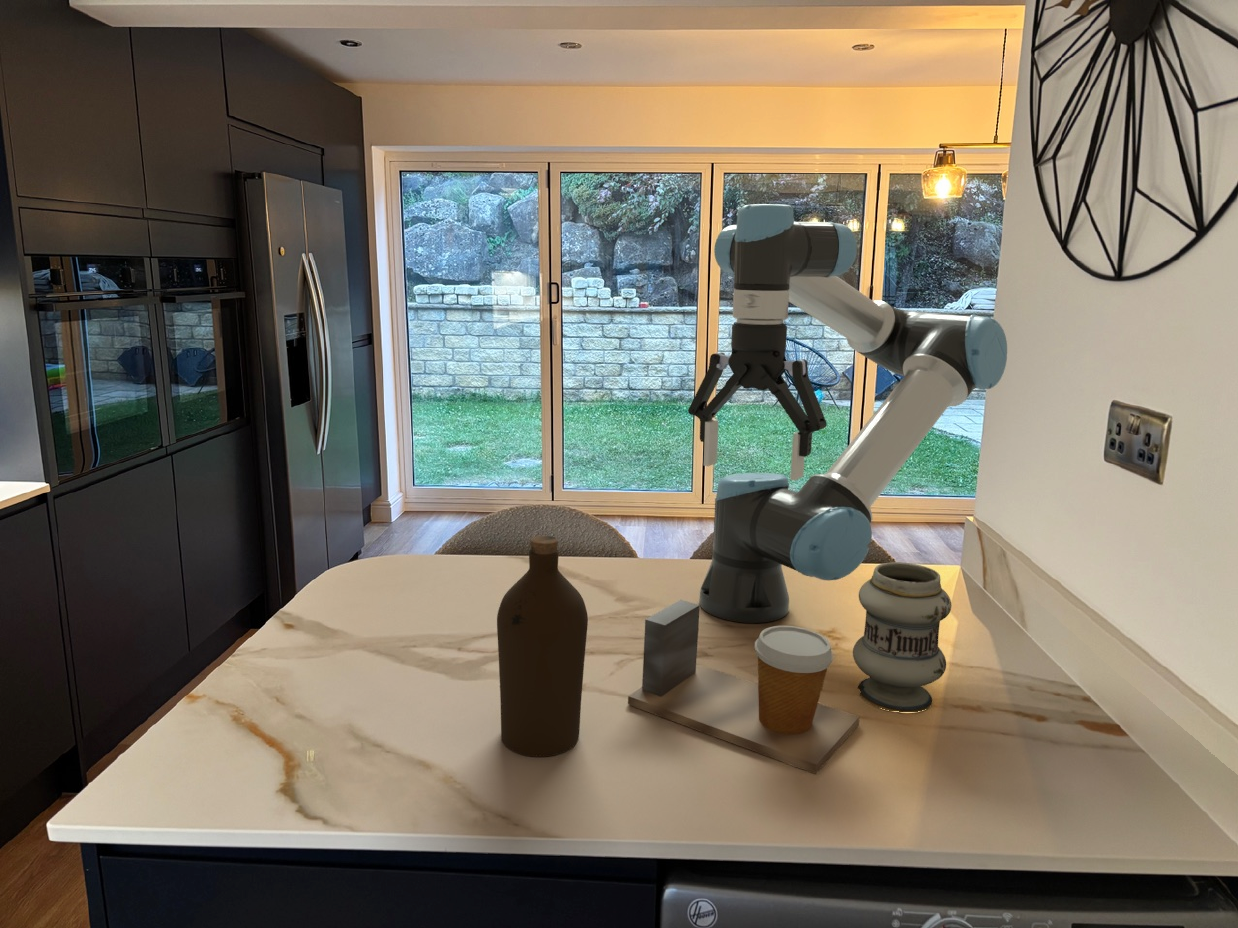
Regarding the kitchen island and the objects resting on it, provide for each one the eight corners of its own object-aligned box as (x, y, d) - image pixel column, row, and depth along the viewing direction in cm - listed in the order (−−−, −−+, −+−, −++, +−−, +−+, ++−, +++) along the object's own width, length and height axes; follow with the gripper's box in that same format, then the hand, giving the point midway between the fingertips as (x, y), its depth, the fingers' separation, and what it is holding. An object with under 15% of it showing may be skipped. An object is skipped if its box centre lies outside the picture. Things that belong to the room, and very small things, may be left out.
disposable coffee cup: (817, 757, 104) (829, 664, 101) (738, 737, 107) (748, 647, 104) (827, 719, 112) (839, 633, 109) (754, 702, 115) (763, 618, 113)
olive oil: (581, 762, 101) (588, 555, 95) (489, 758, 101) (490, 552, 95) (586, 716, 111) (592, 527, 105) (502, 712, 111) (504, 524, 105)
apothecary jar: (840, 673, 125) (852, 554, 122) (924, 677, 125) (939, 558, 121) (860, 715, 114) (874, 585, 110) (953, 720, 113) (971, 589, 109)
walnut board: (627, 704, 114) (631, 624, 112) (682, 667, 125) (686, 593, 123) (815, 773, 100) (824, 683, 97) (858, 724, 111) (867, 643, 109)
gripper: (667, 318, 124) (664, 463, 129) (837, 328, 110) (825, 490, 115) (693, 315, 130) (689, 454, 135) (857, 324, 116) (845, 478, 121)
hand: (752, 471), depth 125 cm, fingers open, 13 cm apart
